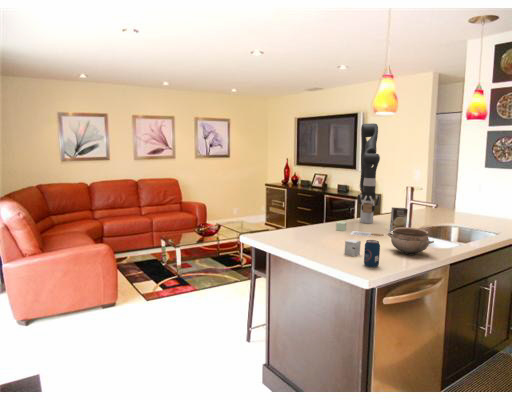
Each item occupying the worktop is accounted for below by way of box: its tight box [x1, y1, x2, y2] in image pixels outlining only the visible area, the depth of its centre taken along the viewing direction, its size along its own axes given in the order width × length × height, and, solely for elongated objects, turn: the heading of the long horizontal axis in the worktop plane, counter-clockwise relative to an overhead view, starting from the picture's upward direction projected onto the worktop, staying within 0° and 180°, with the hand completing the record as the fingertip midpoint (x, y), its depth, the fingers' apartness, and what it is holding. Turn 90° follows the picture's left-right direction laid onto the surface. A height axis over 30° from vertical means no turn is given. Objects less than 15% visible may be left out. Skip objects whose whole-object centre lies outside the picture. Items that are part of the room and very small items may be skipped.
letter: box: [348, 230, 373, 238], centre depth 255 cm, size 12×13×1 cm
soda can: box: [363, 239, 381, 269], centre depth 187 cm, size 7×7×12 cm
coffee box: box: [389, 206, 408, 232], centre depth 262 cm, size 9×6×16 cm
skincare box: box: [344, 238, 362, 257], centre depth 206 cm, size 6×6×7 cm
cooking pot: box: [387, 226, 435, 255], centre depth 210 cm, size 25×19×12 cm
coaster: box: [371, 232, 384, 237], centre depth 252 cm, size 8×8×1 cm
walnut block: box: [363, 203, 373, 213], centre depth 251 cm, size 6×6×6 cm
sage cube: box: [335, 221, 347, 232], centre depth 264 cm, size 6×6×6 cm
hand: (368, 211), depth 252 cm, fingers closed on walnut block, 5 cm apart
